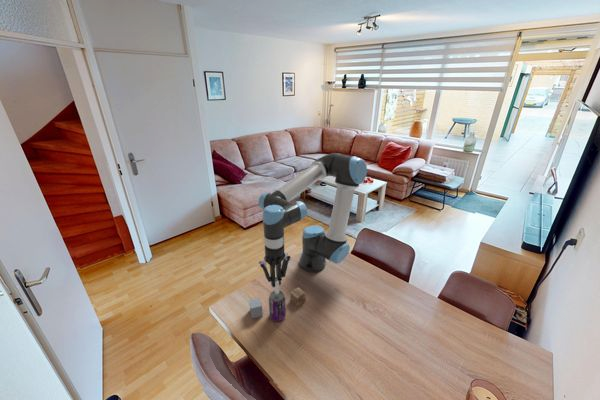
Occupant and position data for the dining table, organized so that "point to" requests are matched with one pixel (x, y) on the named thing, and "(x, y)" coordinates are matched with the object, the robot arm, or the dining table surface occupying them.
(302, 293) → the walnut block
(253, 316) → the slate block
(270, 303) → the beverage can
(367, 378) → the dining table surface
